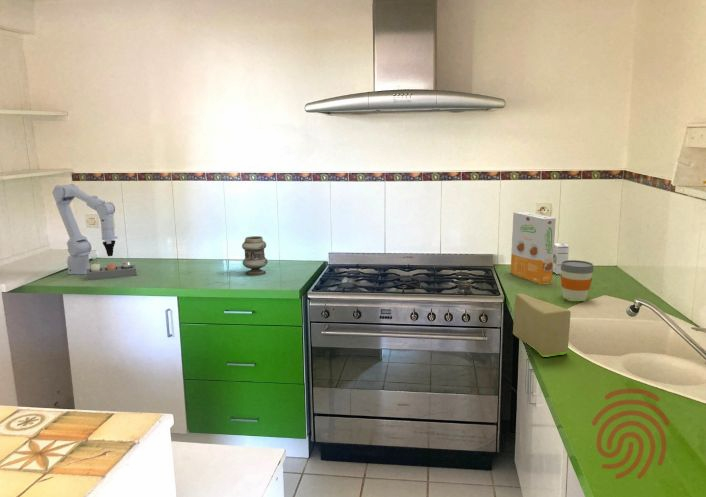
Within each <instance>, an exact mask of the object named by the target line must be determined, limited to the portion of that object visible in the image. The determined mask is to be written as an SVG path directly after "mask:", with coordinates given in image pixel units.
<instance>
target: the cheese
mask: <svg viewBox="0 0 706 497" xmlns="http://www.w3.org/2000/svg"><path fill="white" fill-rule="evenodd" d="M513 308H514V309H513V324H512V325H513V327H512V329H513V330H512V334H513V335H514V336H515V337H516V338H517V339H519V340H520V341H522V343H524V344H526V343H528V344H530V345H531V346H533V347H534V348H535V349H536V350H537V351H539V352H540V353H541V354H542V355H548V354H554V353H560V352H565V351H569V343H570V342H569V340H570V339H569V338H570V327H571V326H570V325H571V313H572V312H571V311H570V310H569V309H568V308H565V307H561V306H558V305H556V304H553V303H552V302H551V303H550V302H547V301H544V300H541V299H539V298H535V297H532V296H530V295H527V294H526V293H516V294H515V297H514V307H513Z"/></svg>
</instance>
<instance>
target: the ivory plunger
mask: <svg viewBox="0 0 706 497" xmlns="http://www.w3.org/2000/svg"><path fill="white" fill-rule="evenodd" d="M100 268H101V264H100V263H92V264H90V269H91V272H95V271H100Z"/></svg>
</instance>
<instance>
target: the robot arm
mask: <svg viewBox="0 0 706 497" xmlns="http://www.w3.org/2000/svg"><path fill="white" fill-rule="evenodd" d="M51 194H52V195H53V197H54V200H55V205H56V208H57V210H58V212H59V215H60V218H61V219H62V222H63V224H64V228H65V230H66V232H67V234H68V237H69V239H68V240H67V242H66V245H67V252H68V253H69V255H68V257H67V259H66V263H67V270H68V271H67V272H68V273H67V275H87V274H86V272H87V269H91V264H90V258H89V255H90V252H91V251H92V243H91V242H90V241H89V240H88V238H87V236H84V235H83V234H82V232H81V230H80V228H79V226H78V223H77V221H76V218H75V216H74V212H73V211H72V207H71V203H72V202H73V200H74V199H75V198H76V199H78V200H81V201H83V202H85V203H86V206H87V207H89V208H91V209H93V210H94V211H96V213H97V215H98V218H99V220H100V230H101V240H102V245H103V246H104V249H105V252H106V254H107V257H113V254H114V247H115V245H116V240H115V239H118V236H115V234H116V233H115V224H114V213H116V206H115V205H114V203H112V202H106V201H105V200H102V199H101V198H99V197H98V196H97V195H89V194H88V193H86V192H84V191H83V190H81V189H80V188H79V186H78V185H76V184H74V183H69V184H62V185H56V186H54V187H53V189H52V193H51Z"/></svg>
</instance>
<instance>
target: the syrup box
mask: <svg viewBox="0 0 706 497" xmlns="http://www.w3.org/2000/svg"><path fill="white" fill-rule="evenodd" d="M569 249H570V245H568V244H566V243H564V242H563V243H561V242H560V243H558V242H557V243H554V253H553V269H552V271H553V272H555V273H556V274H558V273H562V271H561V264H562V262H563V261H567V260H569V252H570V251H569ZM553 272H552V273H553ZM556 274H555V275H556Z"/></svg>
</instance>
